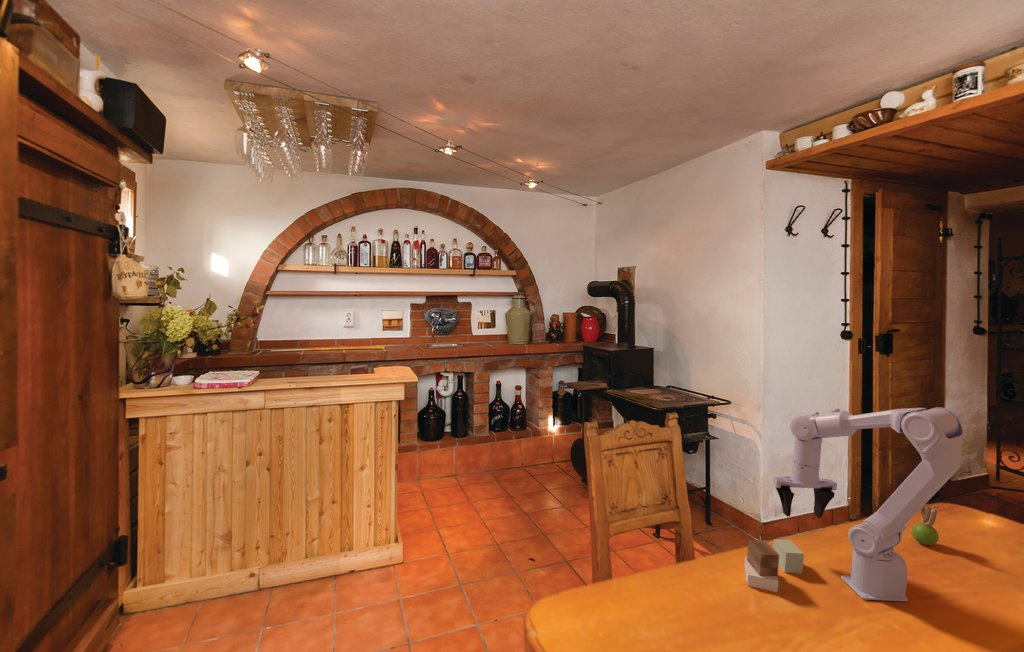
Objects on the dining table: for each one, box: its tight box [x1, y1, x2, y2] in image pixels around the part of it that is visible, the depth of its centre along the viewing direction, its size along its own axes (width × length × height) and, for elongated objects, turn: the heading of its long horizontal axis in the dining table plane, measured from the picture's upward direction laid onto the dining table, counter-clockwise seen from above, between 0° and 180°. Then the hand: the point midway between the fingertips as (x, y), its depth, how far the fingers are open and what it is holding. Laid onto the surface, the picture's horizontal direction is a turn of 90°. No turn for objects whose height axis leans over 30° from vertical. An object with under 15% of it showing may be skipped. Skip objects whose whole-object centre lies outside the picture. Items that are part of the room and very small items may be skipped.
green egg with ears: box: [911, 504, 940, 546], centre depth 127 cm, size 5×6×12 cm
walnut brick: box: [746, 539, 779, 577], centre depth 110 cm, size 4×6×5 cm, turn 179°
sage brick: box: [772, 538, 804, 575], centre depth 116 cm, size 4×6×5 cm, turn 177°
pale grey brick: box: [744, 556, 779, 594], centre depth 111 cm, size 6×8×3 cm
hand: (802, 515), depth 121 cm, fingers open, 7 cm apart
